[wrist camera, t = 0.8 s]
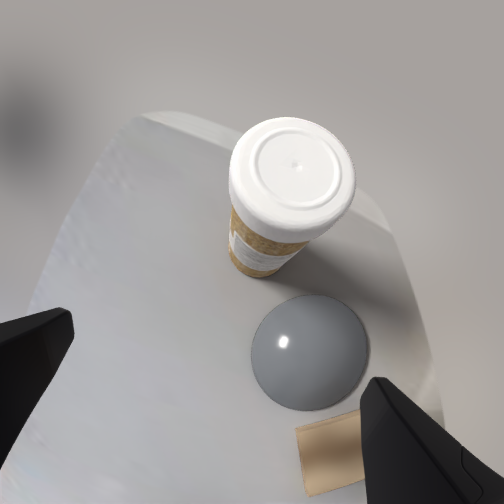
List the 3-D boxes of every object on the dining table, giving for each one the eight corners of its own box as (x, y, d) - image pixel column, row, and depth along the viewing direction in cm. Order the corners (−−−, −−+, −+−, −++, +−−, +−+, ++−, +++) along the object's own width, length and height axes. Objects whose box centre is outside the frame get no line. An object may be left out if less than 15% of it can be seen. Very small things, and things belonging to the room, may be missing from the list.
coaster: (361, 401, 21) (364, 403, 20) (251, 411, 20) (251, 414, 20) (363, 293, 23) (366, 293, 22) (251, 295, 22) (251, 295, 21)
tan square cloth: (378, 466, 20) (383, 471, 19) (305, 491, 19) (308, 497, 18) (375, 403, 21) (380, 406, 20) (295, 428, 20) (298, 432, 19)
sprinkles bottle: (249, 209, 23) (275, 94, 10) (298, 242, 23) (378, 158, 10) (215, 256, 22) (201, 178, 9) (266, 291, 22) (322, 258, 9)
